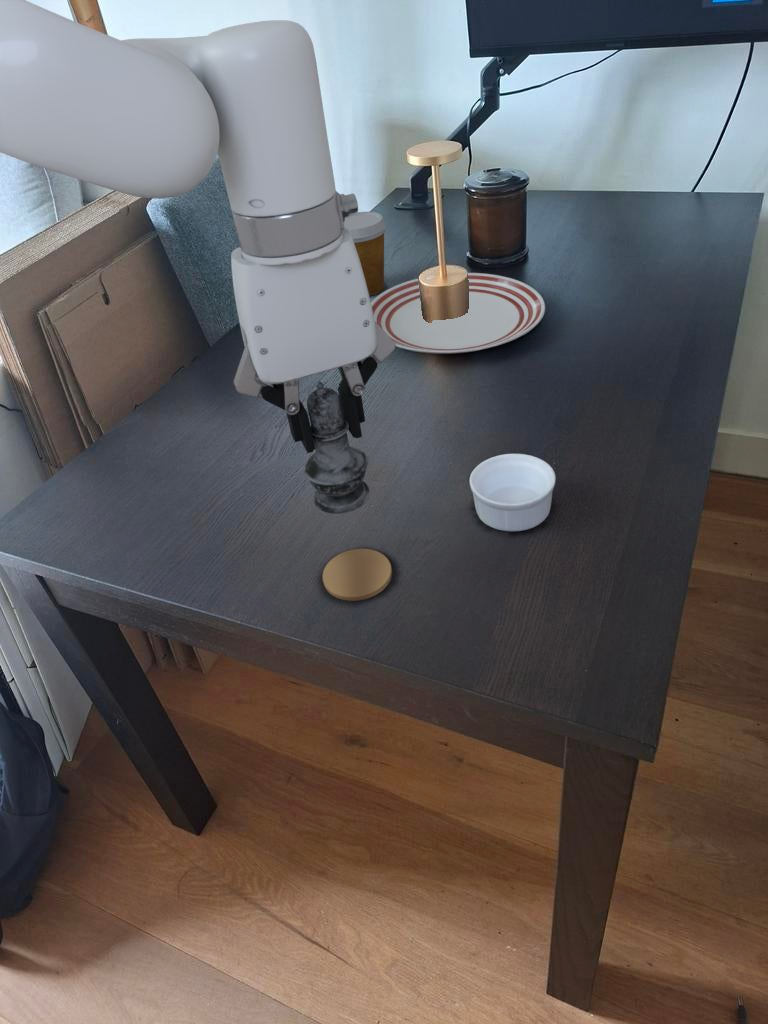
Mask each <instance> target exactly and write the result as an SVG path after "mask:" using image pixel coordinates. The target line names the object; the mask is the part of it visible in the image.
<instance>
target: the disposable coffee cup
mask: <svg viewBox="0 0 768 1024" xmlns="http://www.w3.org/2000/svg"><path fill="white" fill-rule="evenodd" d="M343 223H344V227H345V228H347V230H348V231H349V233H350V234H351V237H352V239H353V242H354V244H355V247H356V250H357V253H358V256H359V259H360V263H361V266H362V270H363V273H364V277H365V281H366V285H367V289H368V293H369V297H371V296H375V295H377V294H380V293H382V291H384V289H385V232H386V228H387V223H386V221H385V220H384V217H383V215H382V214H381V213H379V212H375V211H358V212H357V213H352V214H349V216H348V217H345V222H343Z"/></svg>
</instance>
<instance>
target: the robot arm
mask: <svg viewBox="0 0 768 1024" xmlns="http://www.w3.org/2000/svg"><path fill="white" fill-rule="evenodd" d="M322 97H323V96H322V89H321V85H320V78H319V71H318V63H317V59H316V53H315V48H314V44H313V40H312V38H311V36H310V34H309V32H308V31H307V30H306V29H305V27H304V26H303V25H301V24H300V23H299V22H295V21H292V20H286V19H285V20H283V19H274V20H273V19H272V20H271V19H270V20H261V21H260V20H259V21H253V22H247V23H241V24H236V25H232V26H228V27H225V28H221V29H218V30H215V31H212V32H210V33H208V34H207V35H201V36H200V35H199V36H186V37H184V36H183V37H158V38H157V37H153V38H152V37H151V38H149V37H147V38H127V39H118V38H116V37H113V36H112V35H109V34H106V33H104V32H101V31H99V30H97V29H94V28H91V27H89V26H86V25H84V24H81V23H79V22H77V21H75V20H72V19H70V18H67V17H65V16H63V15H61V14H58V13H56V12H54V11H51V10H48V9H46V8H44V7H42V6H40V5H38V4H35V3H33V2H31V1H28V0H0V153H1V154H4V155H6V156H9V157H11V158H15V159H17V160H19V161H22V162H25V163H28V164H31V165H33V166H36V167H39V168H42V169H45V170H48V171H52V172H54V173H57V174H61V175H64V176H67V177H70V178H74V179H77V180H79V181H83V182H86V183H88V184H92V185H95V186H99V187H101V188H105V189H109V190H111V191H114V192H119V193H120V194H121V193H122V194H125V195H128V196H132V197H138V198H142V199H143V198H144V199H157V200H159V199H160V200H161V199H162V200H163V199H169V198H176V197H177V196H180V195H184V194H186V193H189V191H191V190H193V189H194V188H196V187H198V185H200V184H201V182H203V180H205V179H206V178H207V176H208V175H209V173H210V171H211V169H212V168H213V166H214V164H215V161H216V158H218V159H219V163H220V168H221V173H222V177H223V181H224V185H225V189H226V193H227V196H228V202H229V206H230V209H231V214H232V218H233V219H232V220H233V223H234V227H235V231H236V236H237V238H238V243H239V246H238V247H236V248H235V249H234V250H233V251H232V252H231V254H230V260H231V261H230V262H231V264H230V265H231V277H232V286H233V292H234V293H233V295H234V300H235V306H236V312H237V317H238V323H239V326H240V332H241V337H242V341H243V345H244V347H243V352H242V355H241V358H240V360H239V364H238V366H237V370H236V373H235V375H234V378H233V381H232V382H233V386H234V388H235V390H236V392H237V393H238V394H239V395H243V396H248V397H252V398H257V399H263V400H264V401H265V402H268V403H269V404H272V405H274V406H275V407H277V408H278V409H279V408H280V409H282V410H284V411H285V413H286V416H287V421H288V426H289V430H290V434H291V436H292V440H293V441H294V443H299V442H301V444H302V446H303V448H304V449H305V451H306V453H307V454H310V453H313V452H314V450H315V445H314V441H313V436H312V431H311V427H310V426H311V422H310V417H309V413H308V410H306V407H305V406H304V404H303V402H302V401H301V399H300V398H301V397H300V379H304V378H307V377H312V376H315V375H318V374H321V373H325V372H329V371H332V370H336V369H338V372H339V374H340V377H341V381H340V383H338V387H337V393H338V395H339V397H340V403H341V408H342V414H343V419H345V420H346V421H347V423H348V424H349V429H348V432H349V433H350V435H351V437H352V438H354V439H361V438H363V434H362V427H361V424H362V423H365V422H366V416H365V411H364V405H363V404H364V403H363V399H362V395H364V393H365V391H366V385H367V383H368V382H369V380H370V379H371V377H372V376H373V375H374V374H375V372H376V371H377V369H378V365H379V364H382V363H383V362H384V361H385V360H386V359H387V358H388V357H390V355H391V354H392V353H394V351H395V350H396V348H397V347H396V344H395V343H394V342H393V340H392V339H391V338H390V337H389V336H388V335H387V334H386V333H385V332H384V330H383V329H382V328H381V327H380V326H379V325H378V324H377V323H376V322H375V320H374V316H373V311H372V306H371V302H372V301H371V298H370V297H371V296H369V293H368V289H367V285H366V281H365V277H364V273H363V270H362V266H361V263H360V259H359V256H358V253H357V250H356V247H355V244H354V242H353V239H352V237H351V234H350V233H349V231H348V230H347V228H345V227H344V223H343V222H345V217H348V216H349V214H352V213H357V212H359V203H358V200H357V197H356V195H355V193H349V194H345V193H339V192H338V191H337V189H336V182H335V175H334V170H333V169H334V168H333V162H332V156H331V150H330V149H331V148H330V143H329V136H328V131H327V125H326V124H327V123H326V116H325V110H324V106H323V98H322ZM315 451H316V450H315Z"/></svg>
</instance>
